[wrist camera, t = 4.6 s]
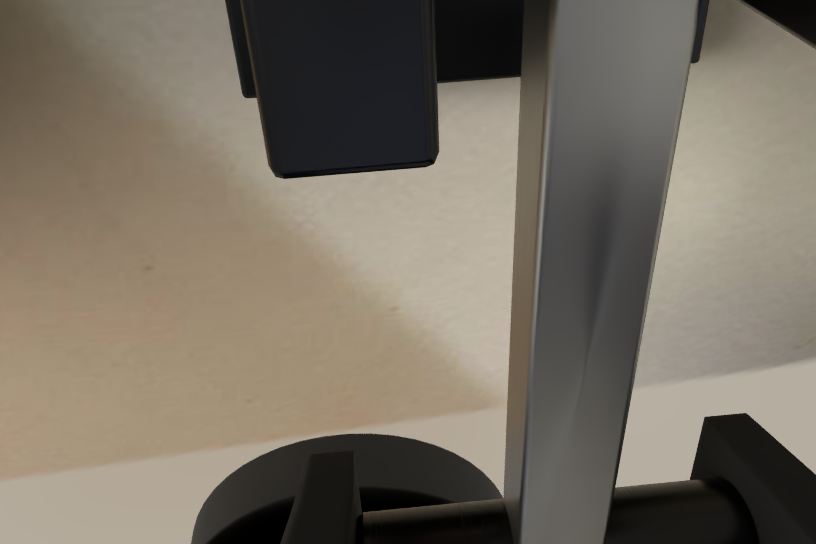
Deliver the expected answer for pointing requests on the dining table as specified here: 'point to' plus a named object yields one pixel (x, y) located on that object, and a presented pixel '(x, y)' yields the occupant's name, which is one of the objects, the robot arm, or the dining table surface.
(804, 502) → the robot arm
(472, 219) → the dining table surface
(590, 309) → the lever
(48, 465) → the dining table surface
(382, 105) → the bracket
